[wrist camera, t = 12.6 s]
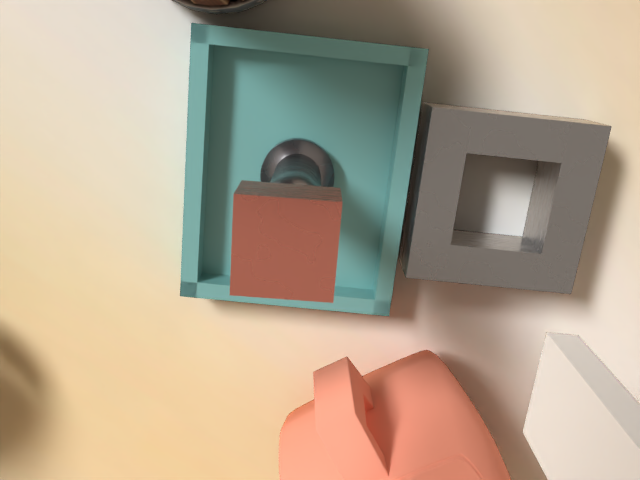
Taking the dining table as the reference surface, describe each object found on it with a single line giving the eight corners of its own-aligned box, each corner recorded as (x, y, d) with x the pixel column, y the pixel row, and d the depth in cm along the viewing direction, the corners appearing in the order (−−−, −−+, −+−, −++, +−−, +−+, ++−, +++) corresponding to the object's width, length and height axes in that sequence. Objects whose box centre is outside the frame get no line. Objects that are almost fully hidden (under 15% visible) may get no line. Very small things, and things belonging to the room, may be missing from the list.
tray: (199, 24, 36) (191, 23, 33) (421, 49, 36) (428, 48, 34) (188, 281, 40) (179, 296, 38) (384, 300, 41) (388, 316, 38)
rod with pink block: (260, 206, 38) (224, 299, 24) (263, 135, 37) (228, 188, 22) (330, 211, 38) (338, 308, 24) (337, 140, 37) (348, 197, 22)
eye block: (422, 102, 37) (432, 106, 34) (585, 119, 37) (611, 126, 34) (398, 258, 40) (405, 277, 36) (550, 273, 40) (571, 293, 37)
